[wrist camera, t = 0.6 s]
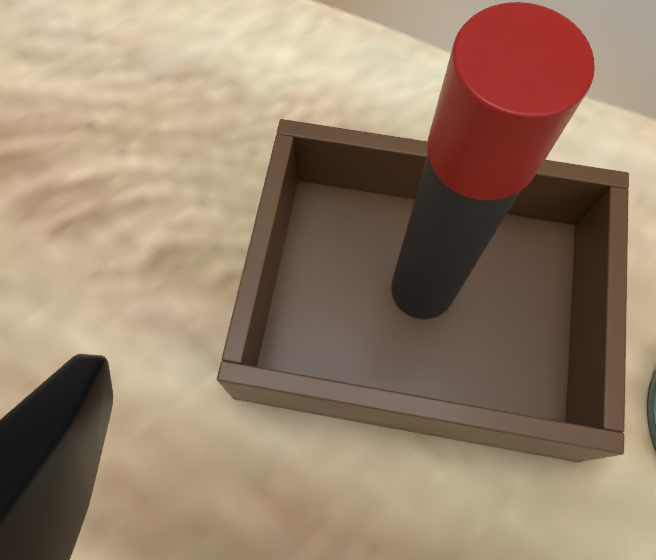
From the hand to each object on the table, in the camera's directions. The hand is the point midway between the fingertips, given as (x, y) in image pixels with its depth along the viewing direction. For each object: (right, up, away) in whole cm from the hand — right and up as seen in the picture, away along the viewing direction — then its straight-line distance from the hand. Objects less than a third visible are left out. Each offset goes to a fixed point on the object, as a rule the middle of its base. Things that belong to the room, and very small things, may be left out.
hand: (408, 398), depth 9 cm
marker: (+3, +1, +16) cm, 16 cm away
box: (+3, +1, +16) cm, 16 cm away
